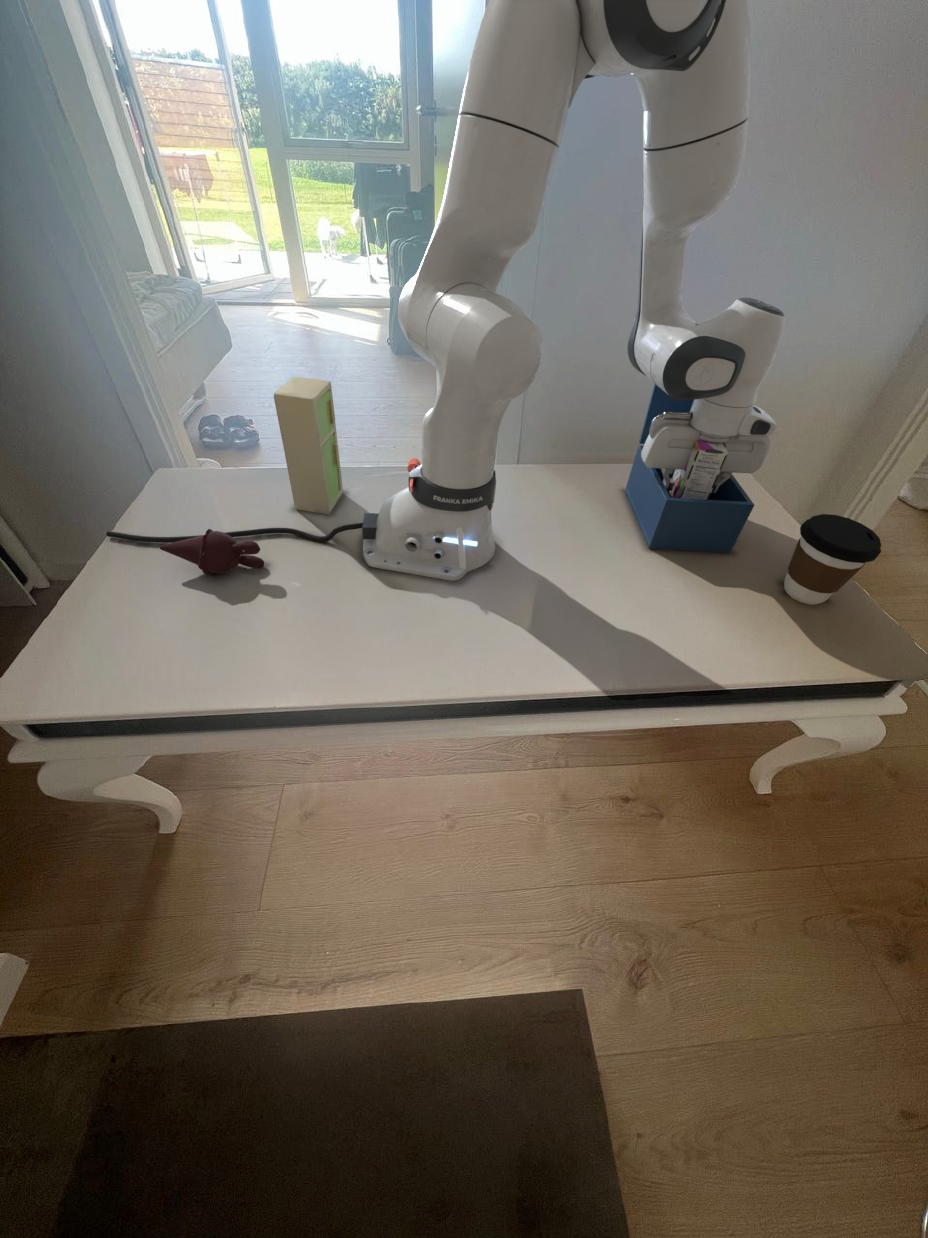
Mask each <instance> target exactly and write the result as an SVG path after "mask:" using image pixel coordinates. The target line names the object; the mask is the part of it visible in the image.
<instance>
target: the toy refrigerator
mask: <svg viewBox="0 0 928 1238" xmlns="http://www.w3.org/2000/svg"><path fill="white" fill-rule="evenodd" d="M332 388H333V387H332V382H331V381H330V380H326V379H319V378H311V377H303V376H295V375H294V376H292V377H290V378H289V379H288V380H286V381H285V383H283V384H282V385H281V386H280V387H279V388H278V389H276V390H275V392H274V393H273V400H274V405H275V411H276V416H277V421H278V427H279V431H280V437H281V441H282V447H283V451H284V452H283V453H284V458H285V462H286V469H287V473H288V479H289V484H290V489H291V495H292V499H293V505H294V508H295V509H296V510H298V511H304V512H305V511H306V512H312V513H317V514H318V513H319V514H324V515H330V514H331V512H332V511H333V509H334V507H335V506H336V504H337V503H338V501H339V500H340V498H341V497H342V495H344V494H343V493H344V485H343V479H342V478H343V477H342V469H341V461H340V451H339V444H338V435H337V433H338V432H337V424H336V414H335V405H334V399H333V397H334V396H333V389H332Z"/></svg>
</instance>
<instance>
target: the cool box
mask: <svg viewBox="0 0 928 1238" xmlns="http://www.w3.org/2000/svg"><path fill="white" fill-rule="evenodd" d="M643 447H644V445H638V447H637V450H636V453H635V456H634V460H633V462H632V466H631V470H630V473H629V476H628V478H627V482H626V486H625V489H624V492H625V495H626V497H627V500H628V502H629V505H630V507H631V510H632V512H633V515H634V517H635V519H636V522H637V524H638V527H639V529H640V531H641V534H642V536H643V538H644V542H645V543H646V546H647V548H648V549H649V550H663V551H664V550H666V551H668V550H669V551H682V552H683V551H684V552H685V551H686V552H703V553H704V552H705V553H725V554H731V552H732V550H733V548H734V546H735V544H736V543H737V541H738V538H739V537H740V534H741V533H742V531H743V528H744V527H745V525H746V523H747V521H748V519H749V517H750V515H751V513H752V511H753V510H754V507H755V504H754V502H753V501H752V500H751V498H750V496H749V495H748V494H747V492H746V491H745V490H744V488H743V487H742V486H741V484H740V483H739V482H738V480H737V478H735V476H734V474H733V473H732V474H731V476H730V478H729V479H727V480H726V481H725V482H724V483H723V484H721V485H720V486H719V488H718V490H717V492H716V493H711V494H710V497H709V499H708V500H702V499H684V498H670V496H669V494H668V492H667V490H666V488H665V486H664V485H663V483H662V482H663V479H664V477H663V473H662V470H661V468H648V467H647V466H646V465H645V463H644V462H643V460H642V457H641V452H642V449H643ZM674 470H675V469H674ZM674 470H673V473H674ZM673 473H672V474H669V478H672V476H673Z"/></svg>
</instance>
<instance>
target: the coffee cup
mask: <svg viewBox="0 0 928 1238" xmlns="http://www.w3.org/2000/svg"><path fill="white" fill-rule="evenodd" d="M799 532H800V533H799V534H800V538H799V539H798V540H797V543H796V546H795V548H794V550H793V553H792V556H791V559H790V562H789V565H788V566H787V572H786V575H785V576H784V580H783V585H784V586H783V587H784V588H783V589H784V591H785V592H786V594H787V595H788V596H789V597H790V598H792V599H793V600H795V601H796V602H799V603H802V604H805V605H811V606H813V605H814V606H816V605H819V604H822V603H824V602H826V601H827V600H828V599H829V598H830V597H831V596H832V595H834V593H837V592H838V591H840V589H842V588H843V586H844V585H846V584H847V582H849V581H850V580H851V579H852V578H853V577H854V576H855V575H856V574H857V573H858V572H859V571H860V570H862V568H864V566H865V565H866V563H869V562H875V560H876V559H877V558H878V557H879V556H880V554H881V553H882V548H881V547H882V542H881V539H880V536H878V535H877V534H876V533H875V532H874V530H873V529H871V528H869V527H868V526H866V525H865V524H863V523H861V522H858V521H857V520H854V519H852V518H849V517H845V516H841V515H838V514H827V513H822V514H817V515H813V516H811V517H810V518H808V519H806V520H805V521H804V522H803V523H802V524H801V525H800V527H799Z"/></svg>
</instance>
